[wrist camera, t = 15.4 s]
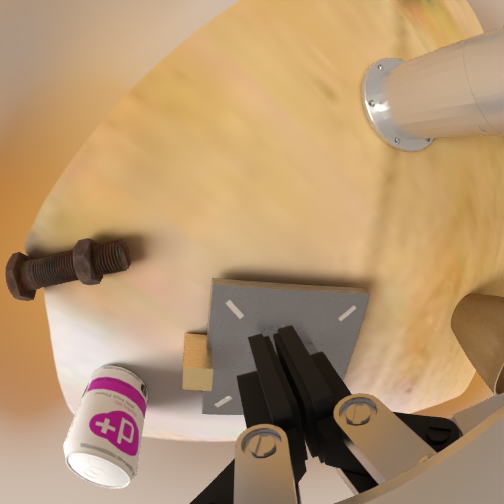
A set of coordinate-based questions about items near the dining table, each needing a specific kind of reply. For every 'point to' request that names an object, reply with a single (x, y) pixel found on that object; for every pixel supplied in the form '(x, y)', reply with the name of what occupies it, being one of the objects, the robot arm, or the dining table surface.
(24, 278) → the bolt
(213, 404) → the grey mounting base
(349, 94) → the dining table surface
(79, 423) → the supplement can
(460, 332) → the plant pot
